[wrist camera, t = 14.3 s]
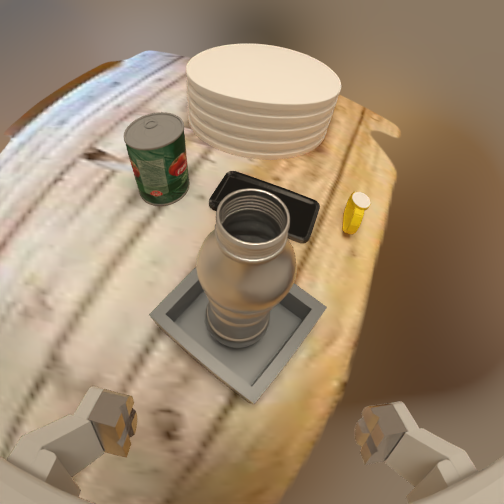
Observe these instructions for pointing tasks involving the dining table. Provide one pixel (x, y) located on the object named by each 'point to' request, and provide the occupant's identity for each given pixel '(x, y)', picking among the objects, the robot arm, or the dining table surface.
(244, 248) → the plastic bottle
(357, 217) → the watch
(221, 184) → the phone
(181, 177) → the canned tomato
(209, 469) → the dining table surface
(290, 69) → the plate stack
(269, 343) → the tray
